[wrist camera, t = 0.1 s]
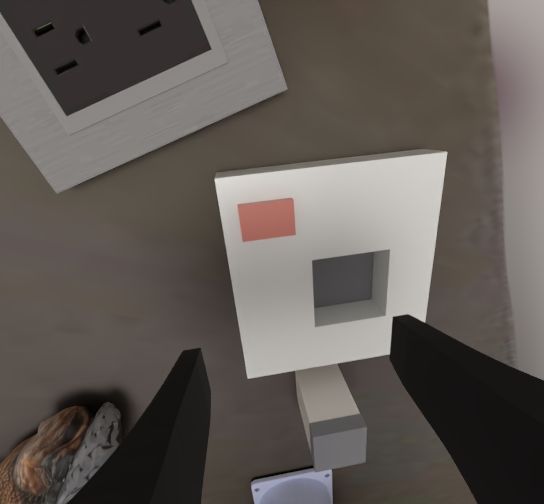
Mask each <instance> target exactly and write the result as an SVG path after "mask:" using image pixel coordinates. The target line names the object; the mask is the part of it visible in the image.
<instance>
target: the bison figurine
mask: <svg viewBox="0 0 544 504" xmlns="http://www.w3.org/2000/svg"><path fill="white" fill-rule="evenodd" d="M121 442H122V423H121V414H120V411H119V410H118V409H117V408H116V407H115V405H114V404H112V403H109V402H106V403H104V404H103V405H102V407H101V408H100V409H99V411H98V412H97V413H96V415H95V416H93V415H92V413H91V412H90V410H89V409H88V408H87V407H85V406H72V407H68V408H65V409H63V410H61V411H60V412H58V413H57V414H55V415H54V416H52V417H50V418H48V419H46V420H44V421H43V422H41V424H40V426H39V428H38V433H37V434H35V435H34V436H31V437H29V438H28V439H26V440H25V441H23V442H22V443H20V444H19V445H18V446H17V447H15V448H14V449H13V450H12V452H11V453H10V454H9V455H8V456H7V457H6V458H5V459H4V460H3V461H2V462H1V464H0V504H67V503H68V502H69V501H70V500H71V499H72V498H73V497H74V496H75V495H76V493H77V492H78V491H79V490H80V489H81V488H82V487H83V486H84V485H85V484H86V483H87V482H88V480H89V479H90V478H91V477H92V476H93V475H94V474H95V473H96V472H97V471H98V469H99V468H100V467H101V466H102V465H103V464H104V463H105V462H106V460H107V459H108V458H109V457H110V456H111V454H112V453H113V452H114V451H115V450H116V448H117V447H118V446H119V445H120V444H121Z"/></svg>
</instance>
